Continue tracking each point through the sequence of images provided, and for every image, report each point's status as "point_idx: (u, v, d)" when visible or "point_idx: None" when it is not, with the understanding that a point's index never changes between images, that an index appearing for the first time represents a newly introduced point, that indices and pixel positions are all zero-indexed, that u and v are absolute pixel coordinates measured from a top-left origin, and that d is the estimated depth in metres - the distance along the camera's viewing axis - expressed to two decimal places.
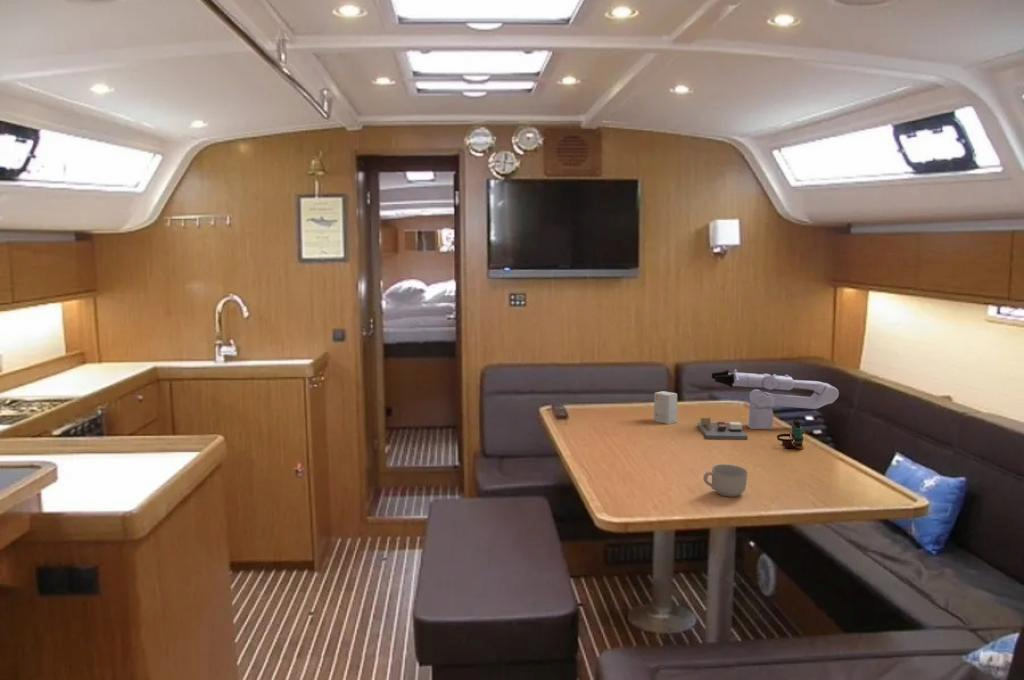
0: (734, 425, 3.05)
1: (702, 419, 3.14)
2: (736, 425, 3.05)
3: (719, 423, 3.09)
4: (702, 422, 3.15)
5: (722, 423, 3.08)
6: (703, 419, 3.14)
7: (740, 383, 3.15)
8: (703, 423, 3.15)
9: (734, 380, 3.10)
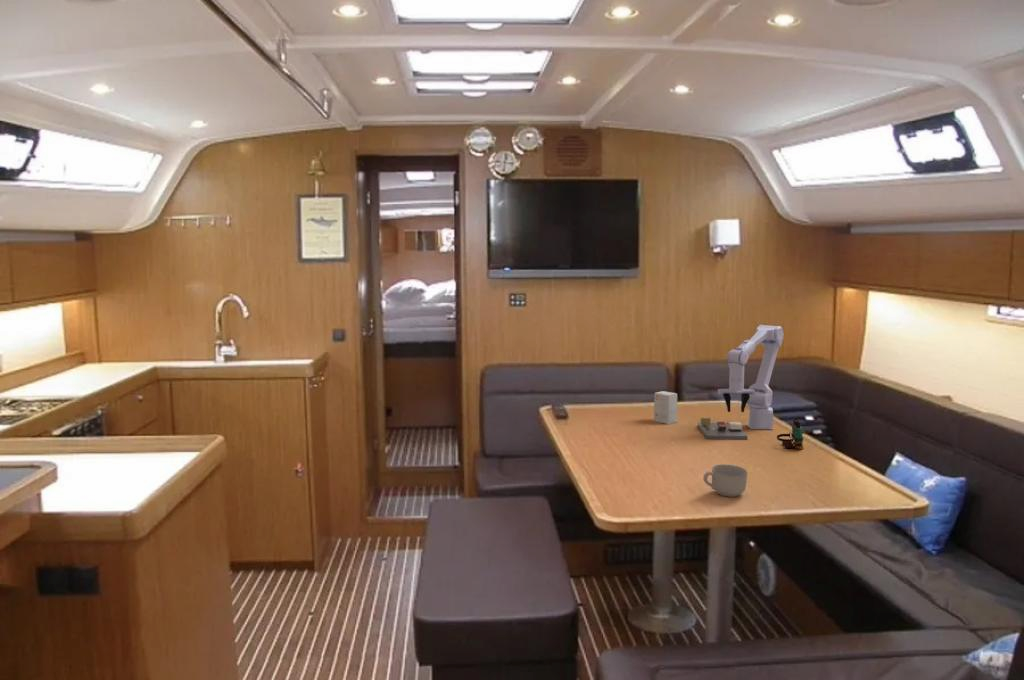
0: (734, 425, 3.05)
1: (702, 419, 3.14)
2: (736, 425, 3.05)
3: (719, 423, 3.09)
4: (702, 422, 3.15)
5: (722, 423, 3.08)
6: (703, 419, 3.14)
7: None
8: (703, 423, 3.15)
9: None
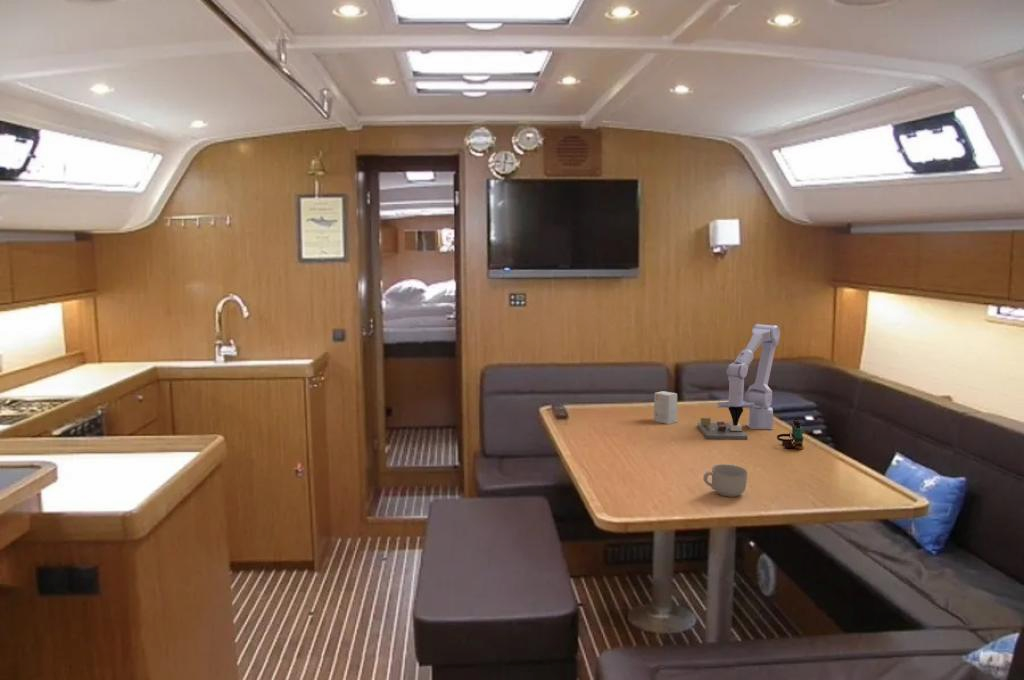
0: (734, 427, 3.05)
1: (702, 419, 3.14)
2: (736, 427, 3.05)
3: (719, 423, 3.09)
4: (702, 422, 3.15)
5: (722, 423, 3.08)
6: (703, 419, 3.14)
7: None
8: (703, 423, 3.15)
9: None
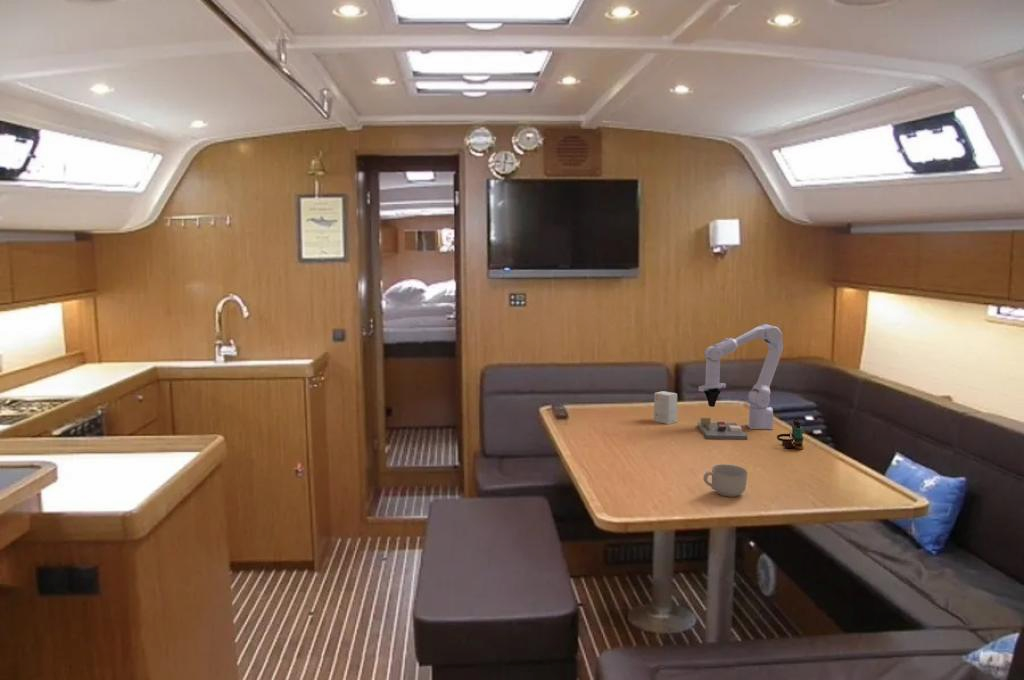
0: (734, 428, 3.05)
1: (702, 419, 3.14)
2: (736, 428, 3.05)
3: (719, 423, 3.09)
4: (702, 422, 3.15)
5: (722, 423, 3.08)
6: (703, 419, 3.14)
7: None
8: (703, 423, 3.15)
9: None
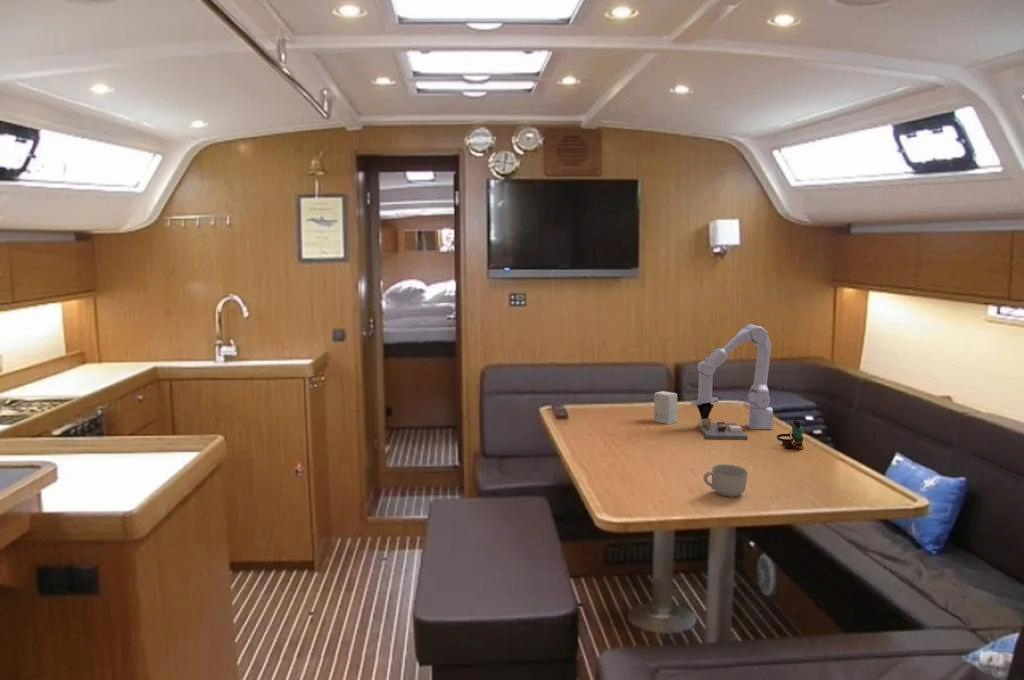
0: (734, 428, 3.05)
1: (702, 420, 3.13)
2: (736, 428, 3.05)
3: (719, 423, 3.09)
4: (702, 423, 3.13)
5: (722, 423, 3.08)
6: (703, 420, 3.13)
7: None
8: (703, 424, 3.13)
9: None
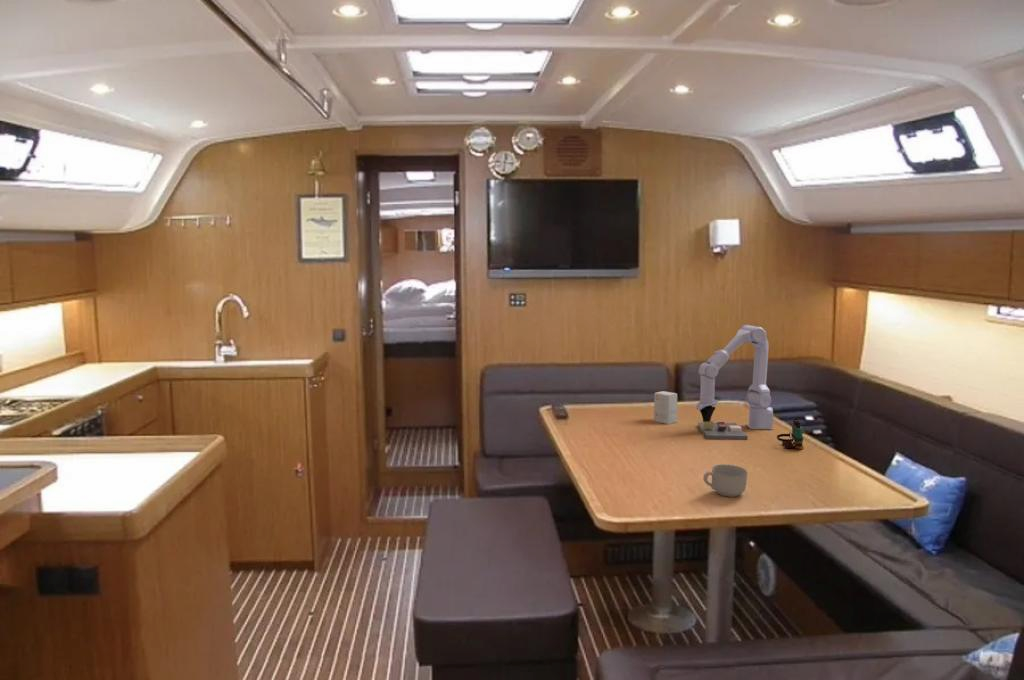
0: (734, 428, 3.05)
1: (705, 423, 3.08)
2: (736, 428, 3.05)
3: (719, 423, 3.09)
4: (705, 426, 3.08)
5: (722, 423, 3.08)
6: (706, 423, 3.08)
7: None
8: (706, 427, 3.08)
9: None
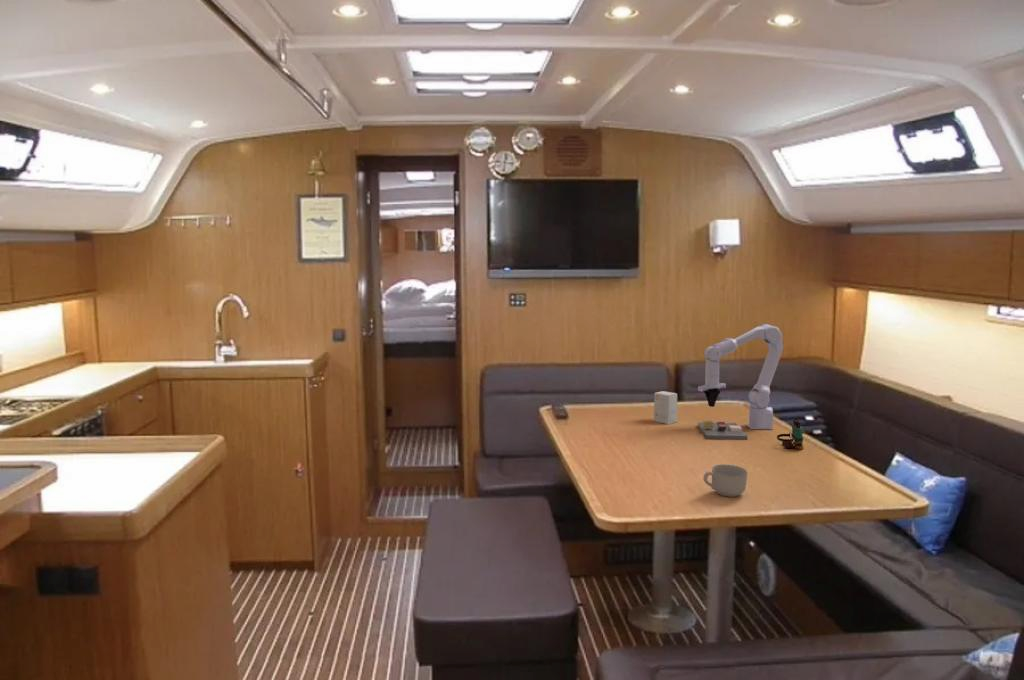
0: (734, 428, 3.05)
1: (704, 422, 3.08)
2: (736, 428, 3.05)
3: (719, 423, 3.09)
4: (704, 425, 3.09)
5: (722, 423, 3.08)
6: (705, 422, 3.08)
7: None
8: (705, 426, 3.09)
9: None
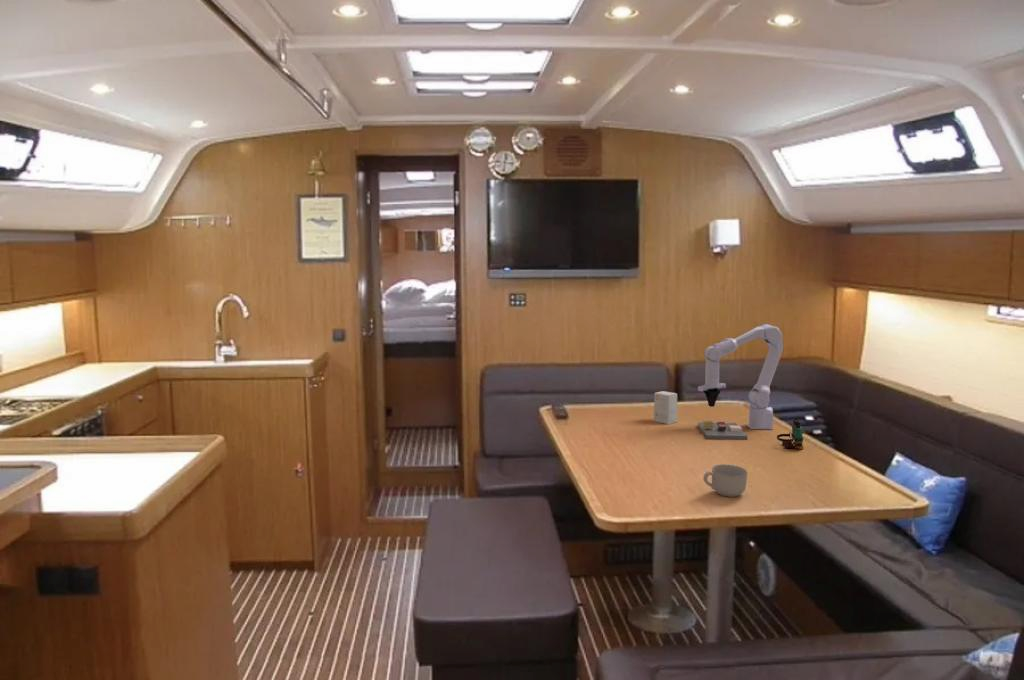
0: (734, 428, 3.05)
1: (704, 422, 3.08)
2: (736, 428, 3.05)
3: (719, 423, 3.09)
4: (704, 425, 3.09)
5: (722, 423, 3.08)
6: (705, 422, 3.08)
7: None
8: (705, 426, 3.09)
9: None
